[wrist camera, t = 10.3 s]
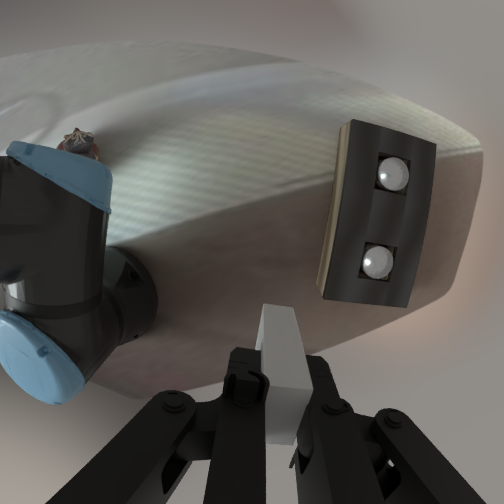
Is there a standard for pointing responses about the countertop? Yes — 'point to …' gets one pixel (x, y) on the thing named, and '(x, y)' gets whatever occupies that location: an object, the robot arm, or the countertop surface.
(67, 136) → the figurine
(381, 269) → the steel peg
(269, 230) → the countertop surface
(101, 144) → the countertop surface
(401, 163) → the steel peg
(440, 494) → the robot arm
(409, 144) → the block
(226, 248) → the countertop surface
